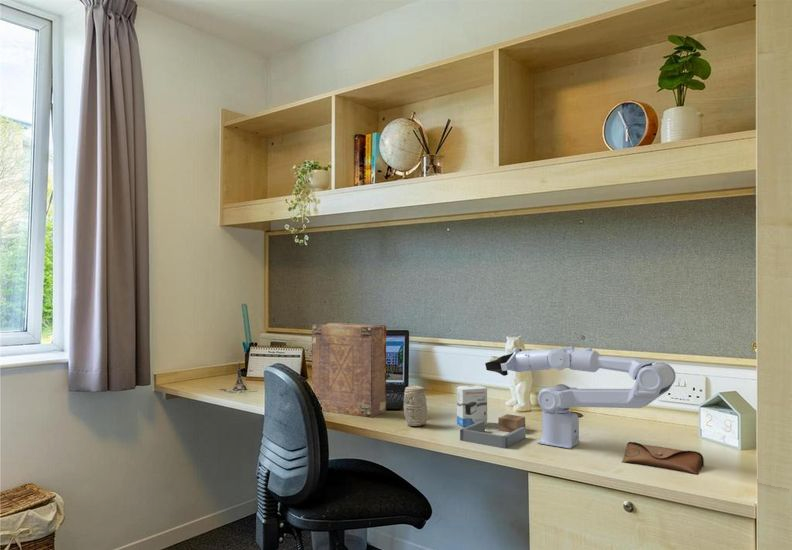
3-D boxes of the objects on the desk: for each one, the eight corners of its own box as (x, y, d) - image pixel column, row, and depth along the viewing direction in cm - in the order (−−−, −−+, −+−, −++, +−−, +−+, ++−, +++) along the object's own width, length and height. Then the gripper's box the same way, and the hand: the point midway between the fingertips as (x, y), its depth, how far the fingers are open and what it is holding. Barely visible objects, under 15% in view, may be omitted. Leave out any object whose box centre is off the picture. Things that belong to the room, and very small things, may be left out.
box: (525, 437, 169) (525, 427, 169) (505, 448, 158) (505, 437, 158) (481, 430, 177) (481, 420, 177) (460, 440, 167) (460, 429, 167)
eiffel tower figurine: (218, 390, 247) (218, 358, 247) (239, 387, 254) (239, 356, 254) (236, 395, 236) (236, 362, 236) (258, 392, 243) (258, 359, 244)
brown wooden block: (525, 430, 179) (525, 416, 179) (517, 434, 174) (517, 420, 174) (506, 427, 182) (506, 414, 182) (498, 431, 177) (498, 417, 177)
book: (311, 409, 208) (311, 324, 208) (327, 404, 215) (327, 322, 216) (371, 417, 195) (371, 326, 195) (386, 412, 203) (386, 325, 203)
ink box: (462, 427, 181) (462, 389, 181) (456, 423, 186) (456, 386, 186) (488, 425, 183) (487, 387, 184) (481, 421, 188) (481, 385, 188)
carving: (407, 422, 188) (407, 384, 188) (430, 424, 186) (430, 385, 186) (400, 426, 182) (400, 387, 183) (423, 428, 180) (423, 389, 180)
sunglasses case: (618, 461, 146) (621, 435, 149) (624, 470, 151) (627, 444, 154) (700, 475, 136) (701, 446, 139) (703, 483, 141) (704, 455, 144)
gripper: (542, 341, 174) (503, 345, 183) (517, 351, 163) (477, 355, 172) (547, 365, 174) (507, 368, 183) (522, 376, 163) (482, 379, 172)
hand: (493, 363), depth 177 cm, fingers open, 7 cm apart
